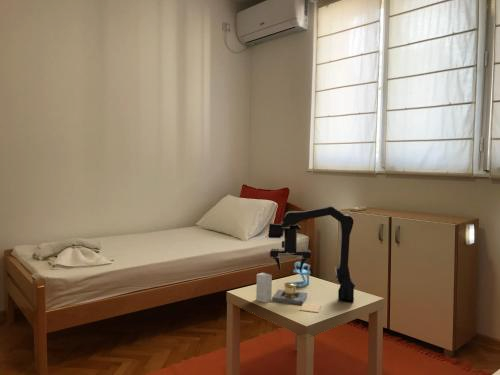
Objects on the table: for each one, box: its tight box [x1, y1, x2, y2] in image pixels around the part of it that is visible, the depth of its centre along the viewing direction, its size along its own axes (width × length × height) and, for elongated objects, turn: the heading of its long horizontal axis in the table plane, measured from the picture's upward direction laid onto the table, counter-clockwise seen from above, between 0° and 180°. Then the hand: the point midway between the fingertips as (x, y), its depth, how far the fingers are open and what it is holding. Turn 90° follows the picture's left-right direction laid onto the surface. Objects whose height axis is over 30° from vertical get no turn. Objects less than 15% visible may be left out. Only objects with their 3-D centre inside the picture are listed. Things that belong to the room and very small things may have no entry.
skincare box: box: [255, 272, 273, 304], centre depth 185 cm, size 6×4×12 cm
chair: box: [291, 261, 312, 288], centre depth 210 cm, size 8×8×12 cm
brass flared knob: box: [283, 281, 297, 299], centre depth 188 cm, size 6×6×7 cm
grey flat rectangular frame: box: [271, 289, 308, 306], centre depth 188 cm, size 14×12×2 cm
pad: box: [299, 302, 322, 314], centre depth 176 cm, size 8×8×1 cm
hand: (290, 271), depth 189 cm, fingers open, 9 cm apart
